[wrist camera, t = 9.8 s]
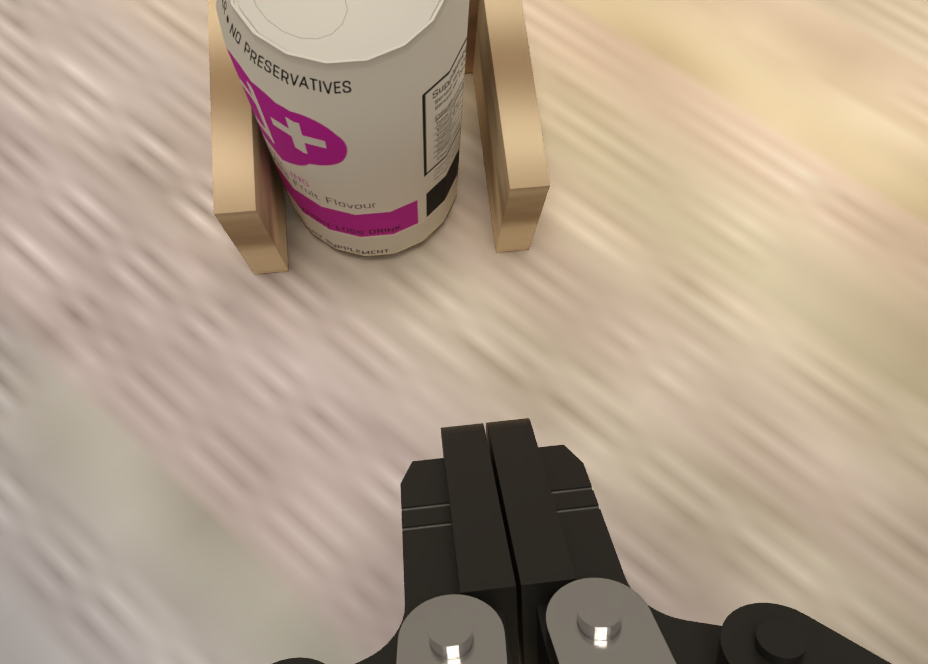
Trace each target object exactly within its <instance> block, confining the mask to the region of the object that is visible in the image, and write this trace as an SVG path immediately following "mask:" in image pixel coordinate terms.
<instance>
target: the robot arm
mask: <svg viewBox="0 0 928 664" xmlns="http://www.w3.org/2000/svg"><path fill="white" fill-rule="evenodd" d="M441 437H442V448H443V458H440V459H431V460H422V461H413V462H412V463H411V465H410V467H409V469H408V471H407V473H406V475H405V477H404V478H403V480H402V482H401V506H402V529H403V532H402V534H403V561H404V589H405V613H404V617H403V621H402V623H401V625H400V627H399V629H398V631H397V632H396V634H395V636H394V637H393V638H392V639H391V640H390V641H389V643H388V644H387V645H385V646H384V647H383V648H382V649H381V650H380V651H378V652H377V653H375V654H374V655H372V656H370V657H368V658H367V659H365V660H363V661H360V662H358V663H356V664H891V663H889V662H887V661H886V660H884V659H882V658H880V657H879V656H877V655H875V654H873V653H872V652H870V651H868V650H866V649H865V648H863V647H861V646H859V645H858V644H856V643H854V642H852V641H851V640H849V639H847V638H845V637H844V636H842V635H840V634H838V633H837V632H835V631H833V630H831V629H830V628H828V627H826V626H824V625H823V624H821V623H819V622H817V621H816V620H814V619H812V618H810V617H809V616H807V615H805V614H803V613H801V612H799V611H797V610H795V609H792V608H789V607H786V606H783V605H778V604H772V603H754V604H748V605H745V606H743V607H740V608H738V609H736V610H735V611H733V612H732V613H731V614H730V615H729V616H728V617H727V618H726V620H725V621H724V623H723V625H722V626H718V625H712V624H705V623H699V622H693V621H686V620H682V619H677V618H674V617H671V616H668V615H665V614H663V613H661V612H659V611H656V610H655V609H653V608H651V607H650V606H648V605H647V603H646V602H645V601H644V600H643V598H642V597H641V596H640V595H639V594H638V593H636V592H635V591H634V590H633V589H631V588H630V586H629V585H628V583H627V580H626V578H625V576H624V573H623V570H622V568H621V565H620V562H619V559H618V557H617V554H616V551H615V548H614V546H613V543H612V540H611V538H610V535H609V532H608V529H607V527H606V524H605V521H604V518H603V516H602V513H601V510H600V509H599V507H598V502H597V499H596V497H595V494H594V491H593V490H592V486H591V483H590V480H589V478H588V475H587V472H586V469H585V467H584V464H583V462H581V461H580V460H579V459H578V458H577V457H576V456H575V455H574V454H573V453H572V452H571V451H570V450H569V449H568V448H567V447H566V446H564V445H557V446H548V447H538V446H537V442H536V439H535V435H534V432H533V429H532V425H531V422H530V420H529V418H526V419H517V420H508V421H498V422H489V423H486V434H485V429H484V425H483V423H481V424H472V425H463V426H454V427H444V428H441ZM273 664H324V663H322V662H320V661H318V660H314V659H310V658H290V659H285V660H281V661H278V662H275V663H273Z"/></svg>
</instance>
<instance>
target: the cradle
mask: <svg viewBox="0 0 928 664" xmlns="http://www.w3.org/2000/svg"><path fill="white" fill-rule="evenodd" d="M216 1H217V0H208V27H209V61H210V95H211V129H212V163H213V198H214V215H215V216H216V218H217V219H218V221H219V222H220V224H221V225H222V227H223V228H224V230H225V231H226V233H227V234H228V236H229V237H230V239H231V240H232V241H233V243H234V244H235V246H236V247H237V249H238V250H239V252H240V253H241V255H242V256H243V258H244V259H245V261H246V262H247V264H248V265H249V267H250V268H251V270H252V271H253V273H254V274H263V273H274V272H285V271H288V253H287V235H286V217H285V198H284V183H283V181H282V179H281V176H280V174H279V172H278V169H277V167H276V164H275V162H274V160H273V157H272V155H271V153H270V150H269V148H268V145H267V143H266V141H265V138H264V136H263V134H262V131H261V129H260V126H259V124H258V122H257V119H256V117H255V115H254V112H253V110H252V107H251V105H250V103H249V100H248V98H247V96H246V93H245V91H244V88H243V86H242V84H241V81H240V79H239V77H238V74H237V72H236V69H235V67H234V65H233V62H232V60H231V58H230V55H229V53H228V50H227V48H226V46H225V43H224V39H223V35H222V31H221V27H220V23H219V19H218V15H217V10H216ZM472 72H473V78H474V86H475V93H476V101H477V109H478V117H479V124H480V132H481V140H482V147H483V155H484V163H485V171H486V178H487V186H488V194H489V202H490V209H491V217H492V225H493V232H494V240H495V248H496V252H506V251H517V250H529V247H530V244H531V241H532V238H533V235H534V232H535V229H536V226H537V223H538V220H539V217H540V214H541V211H542V208H543V205H544V202H545V199H546V196H547V193H548V190H549V187H550V183H549V177H548V170H547V164H546V157H545V150H544V144H543V137H542V131H541V124H540V118H539V111H538V105H537V98H536V91H535V85H534V78H533V72H532V65H531V59H530V52H529V45H528V39H527V32H526V26H525V19H524V13H523V6H522V0H469V14H468V29H467V44H466V58H465V73H472Z"/></svg>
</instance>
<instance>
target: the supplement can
mask: <svg viewBox="0 0 928 664" xmlns="http://www.w3.org/2000/svg"><path fill="white" fill-rule="evenodd" d="M216 10H217V15H218V19H219V23H220V27H221V31H222V35H223V39H224V43H225V46H226V48H227V50H228V53H229V55H230V58H231V60H232V62H233V65H234V67H235V69H236V72H237V74H238V77H239V79H240V81H241V84H242V86H243V88H244V91H245V93H246V96H247V98H248V100H249V103H250V105H251V107H252V110H253V112H254V115H255V117H256V119H257V122H258V124H259V126H260V129H261V131H262V134H263V136H264V138H265V141H266V143H267V145H268V148H269V150H270V153H271V155H272V157H273V160H274V162H275V164H276V167H277V169H278V172H279V174H280V176H281V179H282V181H283V183H284V186H285V188H286V191H287V193H288V195H289V198H290V200H291V202H292V205H293V207H294V210H295V211H296V213H297V214H298V215H299V217H300V218H301V219H302V221H303V222H304V224H305V225H306V226H307V228H308V229H309V230H310V232H311V233H312V234H314V235H315V236H317V237H318V238H320V239H321V240H323V241H324V242H326V243H328V244H329V245H331V246H332V247H334V248H335V249H338V250H342V251H346V252H350V253H354V254H358V255H363V256H373V255H384V254H395V253H398V252H400V251H402V250H405V249H407V248H409V247H411V246H414V245H416V244H418V243H420V242H423V241H424V240H425V239H426V238H427V237H428V236H429V235H430V234H431V233H432V232H433V231H434V230H435V229H437V228H438V227H439V226H440V225H441V224H442V223H443V222H444V220H445V218H446V216H447V214H448V212H449V210H450V208H451V206H452V204H453V202H454V200H455V198H456V191H457V177H458V162H459V147H460V133H461V118H462V103H463V88H464V73H465V58H466V44H467V29H468V14H469V0H217V1H216Z"/></svg>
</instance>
